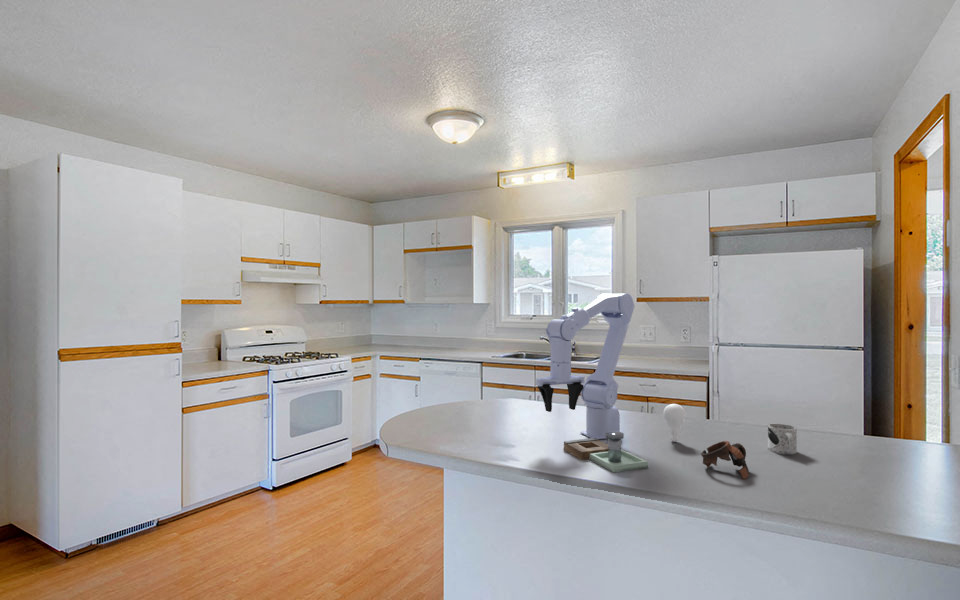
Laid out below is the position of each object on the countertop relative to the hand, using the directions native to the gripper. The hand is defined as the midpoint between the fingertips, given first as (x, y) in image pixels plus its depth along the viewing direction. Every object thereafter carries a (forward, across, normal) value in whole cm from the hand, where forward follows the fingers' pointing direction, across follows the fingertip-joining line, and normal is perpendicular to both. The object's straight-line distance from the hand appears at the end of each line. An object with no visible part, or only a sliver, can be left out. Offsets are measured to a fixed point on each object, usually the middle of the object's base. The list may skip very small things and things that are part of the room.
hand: (560, 410), depth 137 cm
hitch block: (+10, -4, +8) cm, 14 cm away
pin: (+9, -5, +18) cm, 21 cm away
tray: (+10, -6, +18) cm, 22 cm away
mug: (+10, -54, +27) cm, 61 cm away
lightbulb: (+10, -33, +9) cm, 35 cm away
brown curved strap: (+10, -27, +32) cm, 43 cm away
